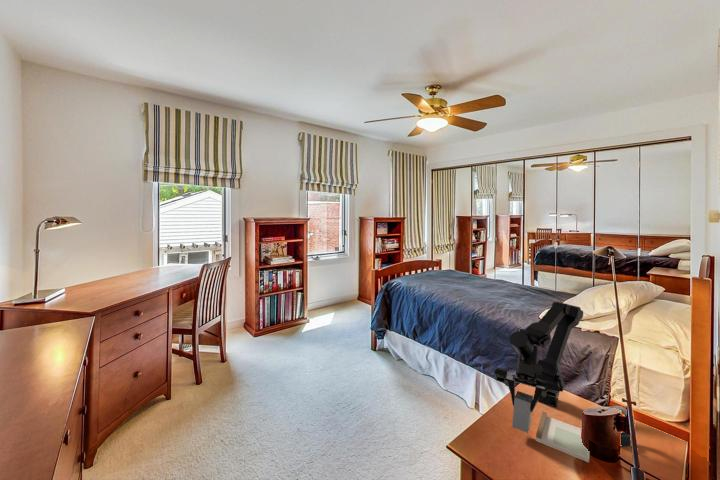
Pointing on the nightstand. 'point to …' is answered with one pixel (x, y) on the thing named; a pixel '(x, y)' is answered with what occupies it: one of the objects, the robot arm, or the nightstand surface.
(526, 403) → the block
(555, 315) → the robot arm
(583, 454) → the door panel
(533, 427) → the nightstand surface
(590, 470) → the nightstand surface
